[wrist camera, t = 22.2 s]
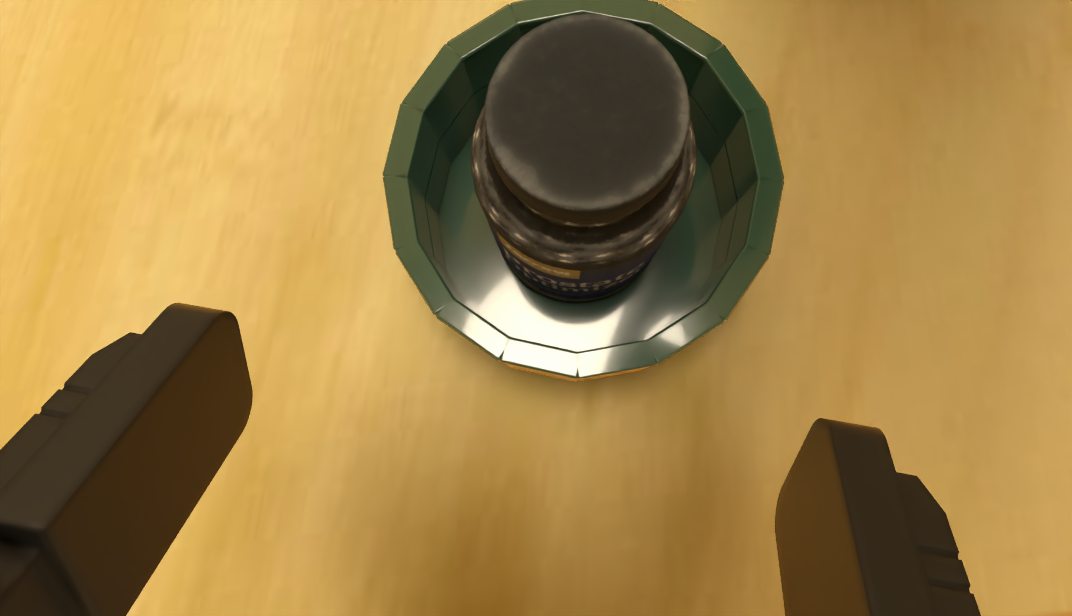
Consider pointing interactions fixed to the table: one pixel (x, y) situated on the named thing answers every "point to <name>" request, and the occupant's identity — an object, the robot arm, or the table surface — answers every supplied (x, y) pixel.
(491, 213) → the pill bottle
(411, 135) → the pot
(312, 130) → the table surface
